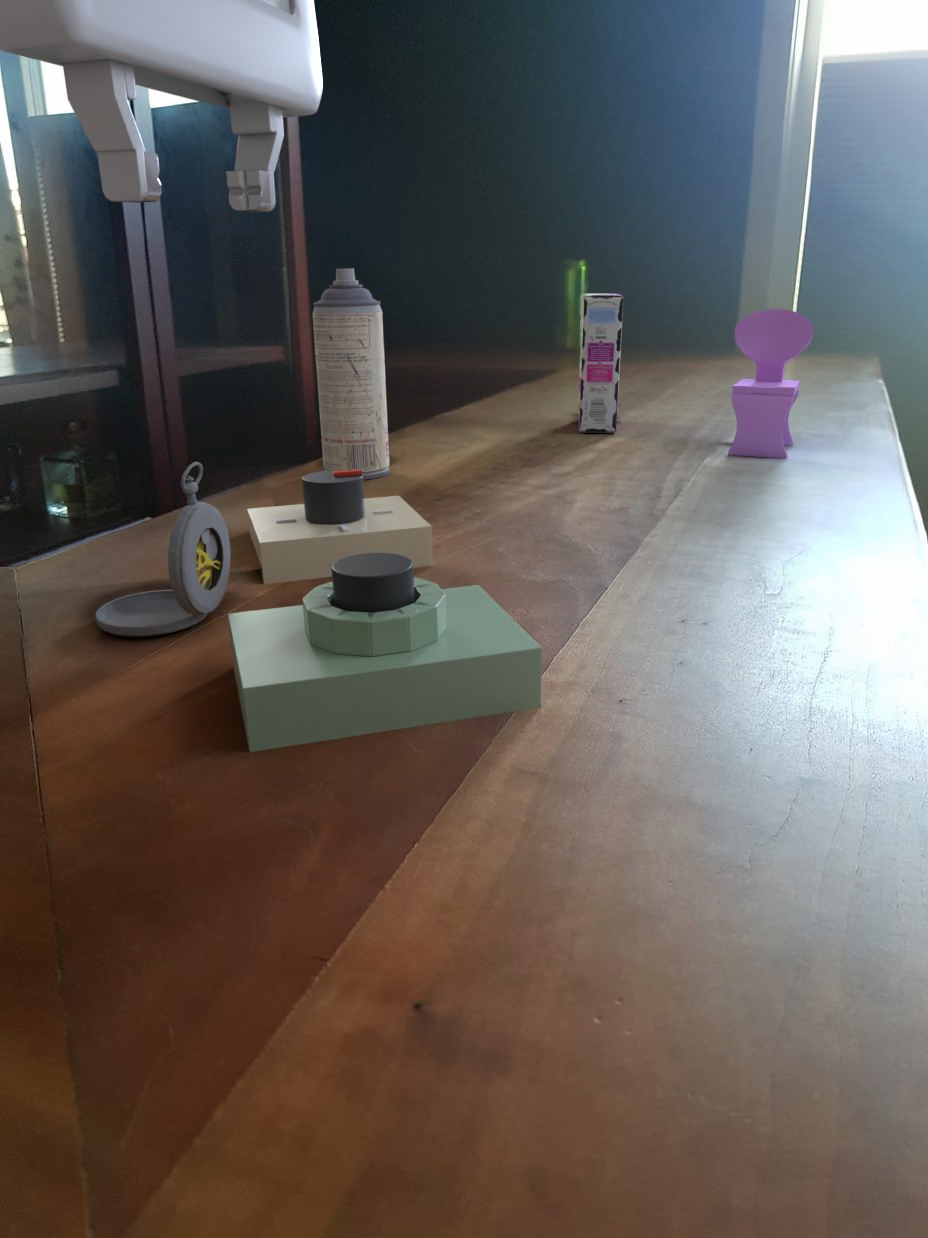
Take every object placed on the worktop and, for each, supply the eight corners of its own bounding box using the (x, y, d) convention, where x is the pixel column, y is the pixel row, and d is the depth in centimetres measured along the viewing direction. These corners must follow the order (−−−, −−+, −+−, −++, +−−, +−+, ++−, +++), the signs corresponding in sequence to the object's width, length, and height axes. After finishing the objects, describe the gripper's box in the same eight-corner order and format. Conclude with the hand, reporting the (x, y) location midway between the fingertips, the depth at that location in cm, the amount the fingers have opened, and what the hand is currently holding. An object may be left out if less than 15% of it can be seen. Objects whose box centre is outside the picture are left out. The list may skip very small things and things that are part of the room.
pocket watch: (94, 613, 60) (68, 456, 56) (228, 594, 63) (211, 444, 59) (103, 660, 53) (74, 483, 49) (253, 635, 56) (236, 467, 52)
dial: (309, 526, 67) (306, 480, 66) (301, 512, 71) (297, 468, 70) (370, 520, 68) (368, 475, 67) (359, 506, 72) (356, 464, 71)
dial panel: (263, 584, 65) (259, 540, 64) (250, 546, 74) (246, 506, 73) (432, 566, 68) (431, 523, 67) (400, 531, 77) (399, 493, 76)
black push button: (341, 621, 45) (339, 580, 44) (328, 595, 48) (325, 556, 48) (423, 611, 46) (421, 571, 45) (404, 586, 49) (402, 548, 49)
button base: (249, 753, 42) (238, 650, 41) (233, 668, 51) (223, 581, 50) (541, 708, 46) (542, 612, 44) (478, 636, 55) (477, 554, 53)
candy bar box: (618, 433, 118) (624, 294, 112) (578, 433, 118) (582, 295, 112) (614, 419, 128) (619, 291, 122) (577, 419, 129) (580, 292, 123)
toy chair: (717, 455, 104) (728, 311, 99) (728, 441, 111) (739, 307, 106) (796, 459, 101) (812, 311, 96) (803, 445, 108) (817, 307, 103)
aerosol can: (403, 471, 99) (395, 267, 92) (353, 483, 94) (340, 269, 87) (360, 463, 103) (349, 268, 96) (310, 474, 99) (295, 269, 91)
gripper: (229, -83, 47) (255, 216, 52) (-122, -291, 29) (-32, 197, 34) (344, -99, 46) (359, 213, 51) (45, -331, 27) (115, 191, 32)
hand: (199, 207), depth 42 cm, fingers open, 8 cm apart
